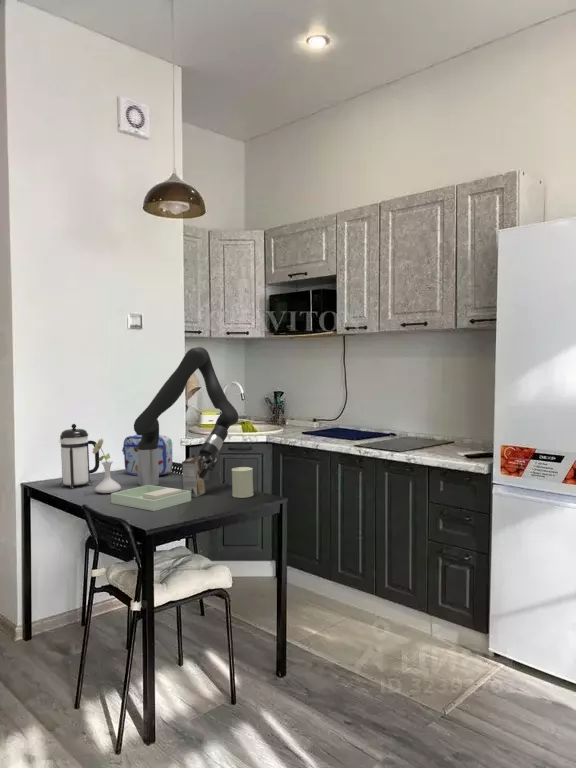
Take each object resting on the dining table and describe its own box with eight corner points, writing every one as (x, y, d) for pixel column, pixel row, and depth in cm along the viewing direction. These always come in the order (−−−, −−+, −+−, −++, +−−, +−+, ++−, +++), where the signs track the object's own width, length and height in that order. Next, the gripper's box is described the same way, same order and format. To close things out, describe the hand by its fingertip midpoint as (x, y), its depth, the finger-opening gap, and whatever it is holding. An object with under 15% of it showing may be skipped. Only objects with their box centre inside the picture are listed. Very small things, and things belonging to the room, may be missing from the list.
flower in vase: (108, 488, 291) (105, 435, 290) (126, 490, 286) (124, 436, 285) (86, 494, 280) (84, 439, 279) (105, 496, 274) (103, 440, 273)
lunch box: (119, 475, 325) (118, 433, 324) (131, 471, 335) (130, 430, 334) (164, 477, 315) (162, 434, 314) (175, 474, 324) (174, 432, 323)
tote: (111, 505, 257) (111, 493, 257) (149, 496, 273) (148, 484, 273) (153, 513, 241) (153, 500, 241) (191, 503, 257) (190, 491, 257)
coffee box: (191, 492, 275) (189, 456, 273) (205, 492, 274) (203, 456, 272) (183, 498, 266) (181, 461, 264) (198, 499, 265) (195, 462, 263)
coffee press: (88, 488, 292) (86, 425, 291) (54, 489, 292) (52, 425, 291) (100, 481, 309) (98, 421, 308) (68, 482, 310) (66, 422, 308)
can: (233, 493, 274) (232, 466, 274) (254, 492, 274) (253, 465, 273) (230, 498, 265) (230, 469, 264) (252, 497, 265) (251, 469, 264)
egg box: (142, 506, 250) (142, 493, 249) (169, 499, 261) (168, 487, 261) (156, 508, 245) (155, 496, 245) (182, 501, 256) (182, 489, 256)
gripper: (195, 440, 280) (177, 470, 272) (219, 442, 272) (201, 472, 263) (204, 450, 285) (186, 480, 276) (227, 453, 276) (210, 483, 267)
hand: (193, 476), depth 270 cm, fingers closed on coffee box, 8 cm apart
